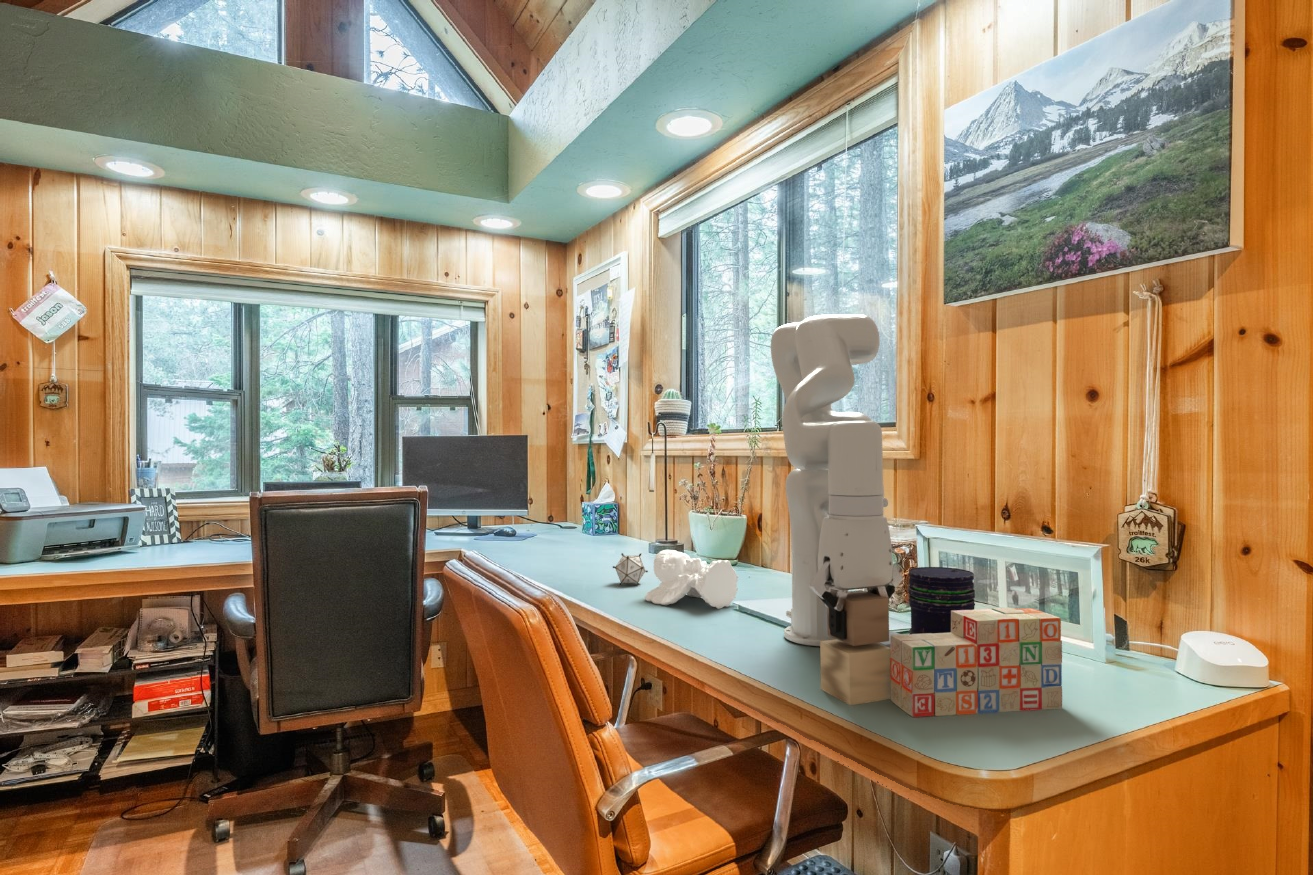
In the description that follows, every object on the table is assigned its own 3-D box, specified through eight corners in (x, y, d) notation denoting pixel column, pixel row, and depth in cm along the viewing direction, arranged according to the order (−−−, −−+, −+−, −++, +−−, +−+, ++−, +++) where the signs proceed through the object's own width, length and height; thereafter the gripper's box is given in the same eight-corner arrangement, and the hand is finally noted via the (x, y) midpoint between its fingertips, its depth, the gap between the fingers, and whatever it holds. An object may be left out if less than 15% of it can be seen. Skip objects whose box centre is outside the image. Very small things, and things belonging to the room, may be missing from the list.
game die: (636, 597, 185) (658, 565, 187) (629, 592, 177) (652, 558, 180) (609, 579, 188) (631, 547, 190) (601, 572, 181) (624, 540, 183)
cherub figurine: (697, 565, 149) (637, 546, 165) (695, 623, 150) (635, 599, 166) (740, 557, 158) (679, 539, 173) (737, 612, 159) (677, 589, 174)
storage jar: (943, 679, 107) (942, 579, 107) (895, 662, 116) (894, 569, 116) (990, 670, 111) (989, 574, 111) (941, 654, 120) (939, 564, 120)
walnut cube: (827, 635, 103) (827, 593, 103) (861, 630, 105) (861, 590, 105) (853, 645, 97) (853, 601, 97) (889, 640, 100) (888, 597, 100)
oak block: (820, 689, 103) (820, 641, 103) (861, 683, 106) (860, 636, 106) (850, 705, 97) (849, 654, 97) (892, 698, 99) (891, 648, 99)
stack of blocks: (912, 719, 92) (910, 623, 92) (889, 702, 98) (888, 612, 98) (1063, 709, 95) (1062, 616, 95) (1032, 693, 101) (1031, 605, 101)
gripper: (886, 503, 108) (888, 622, 108) (789, 508, 102) (791, 635, 102) (922, 506, 101) (924, 634, 101) (820, 512, 95) (822, 648, 95)
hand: (857, 633), depth 101 cm, fingers closed on walnut cube, 5 cm apart
